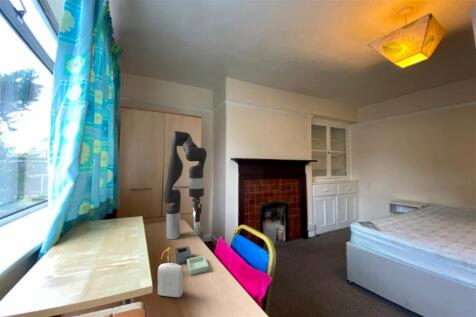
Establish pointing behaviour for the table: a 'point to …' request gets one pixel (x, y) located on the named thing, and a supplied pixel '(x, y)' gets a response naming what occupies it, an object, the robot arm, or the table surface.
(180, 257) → the socket block
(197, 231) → the pin
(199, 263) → the tray
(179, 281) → the photo printer
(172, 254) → the figurine
